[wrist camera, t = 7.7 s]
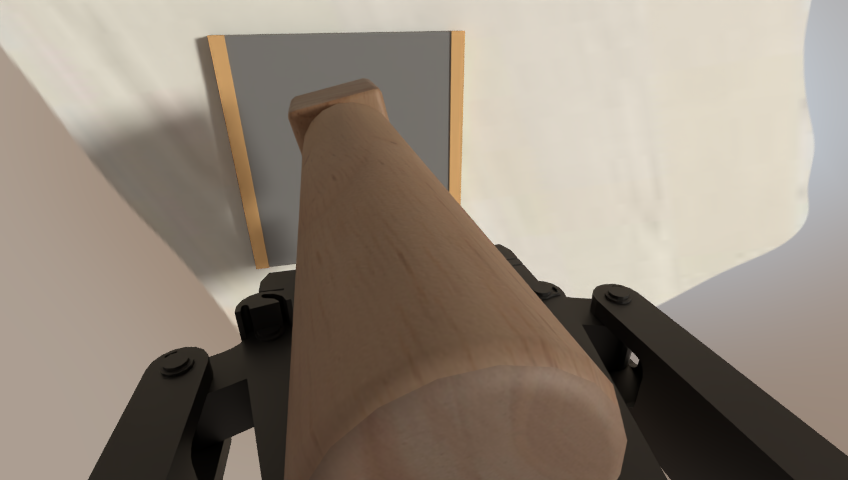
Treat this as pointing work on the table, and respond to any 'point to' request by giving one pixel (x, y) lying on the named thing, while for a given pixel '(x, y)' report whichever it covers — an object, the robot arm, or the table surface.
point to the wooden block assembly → (422, 326)
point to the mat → (318, 69)
